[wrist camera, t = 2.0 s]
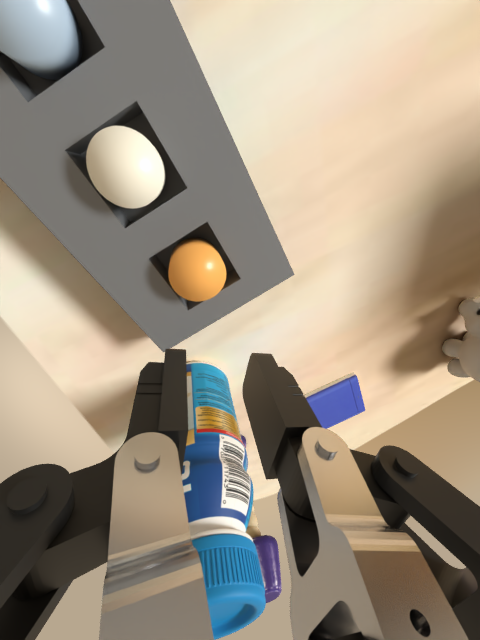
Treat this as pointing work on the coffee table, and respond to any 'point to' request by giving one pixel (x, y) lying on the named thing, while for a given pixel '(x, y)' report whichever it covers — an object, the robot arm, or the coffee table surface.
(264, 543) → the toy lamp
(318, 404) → the hard drive
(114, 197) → the cream button
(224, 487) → the beverage bottle
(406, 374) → the coffee table surface
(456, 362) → the round bodied animal figurine
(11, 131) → the button panel
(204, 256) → the orange button
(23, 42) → the blue button
